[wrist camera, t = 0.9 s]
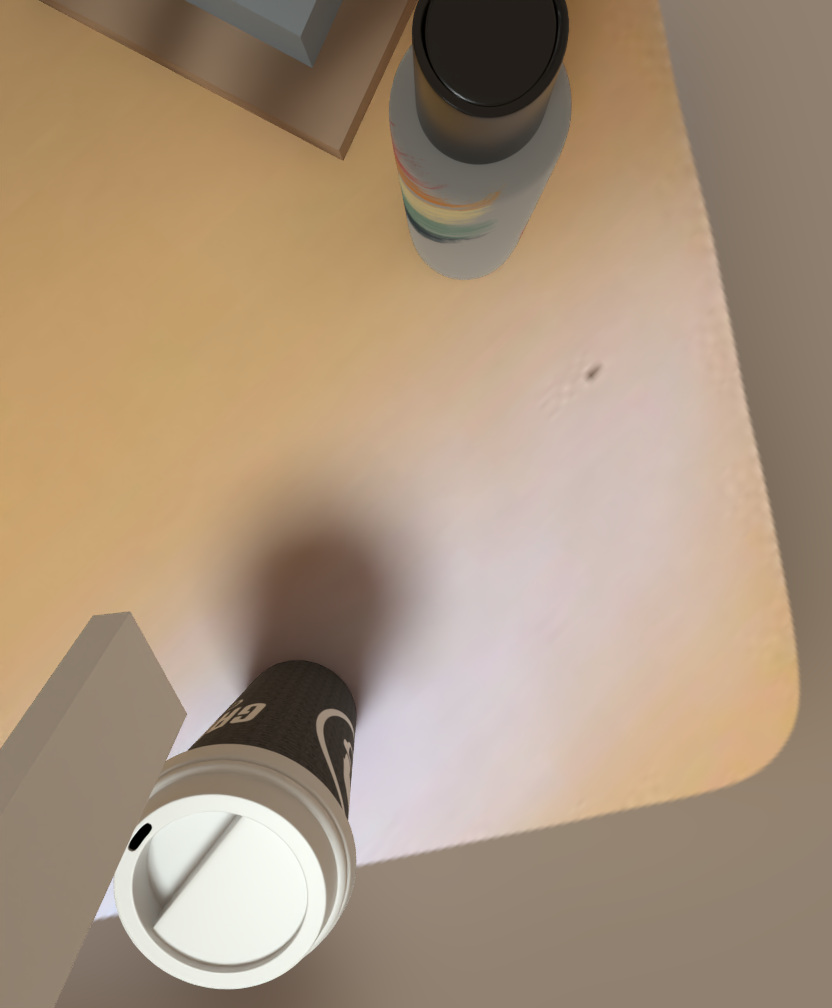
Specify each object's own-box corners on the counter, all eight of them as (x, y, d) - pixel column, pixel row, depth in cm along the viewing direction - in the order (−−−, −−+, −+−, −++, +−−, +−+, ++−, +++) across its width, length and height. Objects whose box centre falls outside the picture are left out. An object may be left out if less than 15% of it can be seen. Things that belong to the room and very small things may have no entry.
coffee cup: (327, 604, 40) (260, 726, 25) (413, 744, 41) (397, 941, 26) (186, 683, 41) (40, 846, 26) (273, 819, 42) (181, 1048, 27)
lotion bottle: (511, 156, 36) (595, -136, 16) (527, 271, 37) (627, 124, 17) (400, 177, 36) (351, -84, 17) (419, 291, 37) (393, 170, 17)
